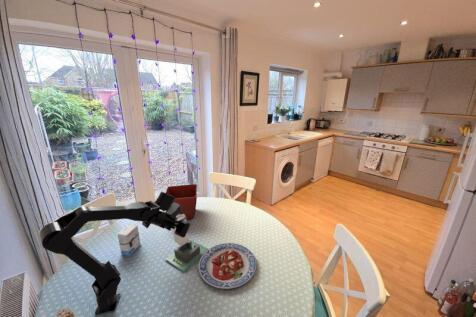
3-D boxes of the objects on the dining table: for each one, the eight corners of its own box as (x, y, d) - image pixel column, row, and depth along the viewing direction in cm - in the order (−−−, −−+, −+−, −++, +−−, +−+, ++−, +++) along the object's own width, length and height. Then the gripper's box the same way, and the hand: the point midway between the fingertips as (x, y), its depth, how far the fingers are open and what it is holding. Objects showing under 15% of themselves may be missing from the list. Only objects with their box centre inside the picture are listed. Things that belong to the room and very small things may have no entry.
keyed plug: (181, 245, 95) (178, 221, 92) (174, 241, 98) (171, 218, 94) (189, 239, 100) (187, 215, 96) (182, 235, 102) (180, 212, 98)
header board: (183, 272, 89) (182, 264, 88) (165, 260, 96) (164, 252, 94) (208, 250, 102) (207, 242, 101) (191, 241, 108) (190, 234, 107)
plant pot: (170, 208, 140) (167, 186, 135) (198, 205, 143) (197, 183, 138) (166, 225, 122) (162, 199, 117) (198, 221, 125) (196, 196, 120)
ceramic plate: (194, 254, 100) (194, 249, 99) (243, 241, 109) (243, 236, 108) (205, 301, 77) (205, 295, 76) (266, 280, 86) (266, 274, 85)
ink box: (129, 256, 99) (125, 235, 95) (121, 254, 100) (116, 234, 96) (141, 244, 107) (138, 224, 103) (133, 242, 108) (129, 223, 104)
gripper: (185, 206, 83) (204, 217, 96) (156, 195, 93) (177, 206, 105) (171, 233, 79) (193, 241, 92) (142, 219, 89) (166, 227, 101)
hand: (182, 227), depth 97 cm, fingers closed on keyed plug, 4 cm apart
